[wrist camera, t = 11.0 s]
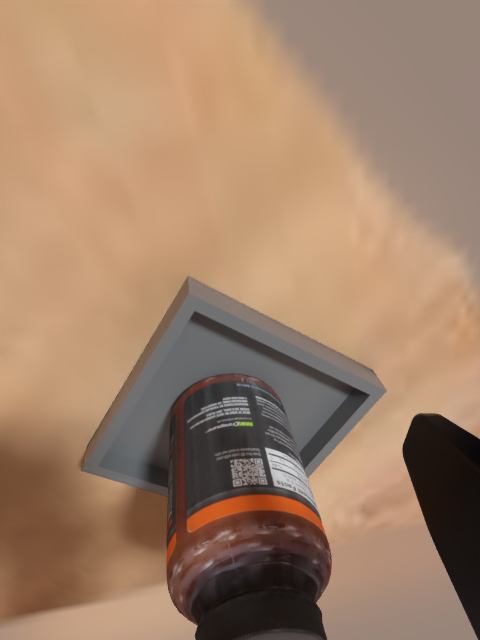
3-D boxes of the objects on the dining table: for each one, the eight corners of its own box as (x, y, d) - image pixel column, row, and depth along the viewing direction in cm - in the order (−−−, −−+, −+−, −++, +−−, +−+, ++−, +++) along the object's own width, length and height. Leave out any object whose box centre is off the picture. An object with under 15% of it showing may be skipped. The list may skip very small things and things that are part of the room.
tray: (88, 444, 23) (81, 470, 21) (188, 276, 19) (188, 293, 17) (259, 500, 27) (264, 525, 25) (372, 369, 23) (386, 390, 21)
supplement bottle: (205, 470, 24) (221, 736, 14) (147, 400, 21) (116, 672, 11) (300, 426, 23) (387, 675, 13) (253, 348, 20) (318, 590, 11)
